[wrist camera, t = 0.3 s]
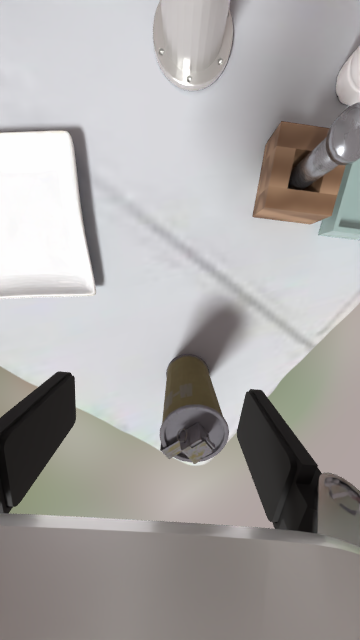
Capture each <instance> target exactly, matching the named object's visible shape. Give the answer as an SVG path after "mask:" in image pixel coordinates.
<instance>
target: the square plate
mask: <svg viewBox="0 0 360 640" xmlns="http://www.w3.org/2000/svg"><path fill="white" fill-rule="evenodd" d="M95 294H96V287H95V281H94V275H93V271H92V266H91V261H90V256H89V251H88V246H87V240H86V235H85V229H84V224H83V217H82V210H81V203H80V195H79V186H78V177H77V168H76V159H75V152H74V145H73V140H72V138H71V135H70V134H69V132H67V131H30V132H3V133H0V299H14V298H37V297H84V296H94V295H95Z"/></svg>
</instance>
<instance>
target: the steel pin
mask: <svg viewBox="0 0 360 640" xmlns="http://www.w3.org/2000/svg"><path fill="white" fill-rule="evenodd" d="M358 159H360V102H359V103H355V104H353V105H351V106H350V107H348V108H347V109H346V110H345V111H344V112H343V113H342V114H341V115H340V116H339V117H338V118H337V119H336V120H335V121H334V122H333V124H332V125H331V127H330V129H329V131H328V134H327V137H326V138H325V139H324V140H323V141H322V142H321V143H320V144H319V145H318V146H317V147H315V148H314V149H313V150H312V151H311V152H310V153H309V154H308V155H307V156H306V157H305V158H304V159H303V160H302V161H300V162H299V163H298V164H297V165H296V166H295V167H294V168H293V169H292V170H291V174H290V178H289V183H288V188H287V189H294V190H303V189H305V188H306V187H308V186H309V185H311V184H312V183H314V182H315V181H316V180H318V179H319V178H321V177H322V176H324V175H325V174H327V173H328V172H330V171H331V170H332V169H334V168H335V167H337V166H338V165H349V164H352V163H354V162H355V161H357V160H358Z"/></svg>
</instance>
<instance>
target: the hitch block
mask: <svg viewBox="0 0 360 640" xmlns="http://www.w3.org/2000/svg"><path fill="white" fill-rule="evenodd" d="M329 129H330V128H324V127H317V126H311V125H304V124H297V123H291V122H284V121H281V123H280V124H279V126H278V127H277V129H276V130H275V132H274V133H273V135H272V136H271V137H270V139H269V140H268V142H267V143H266V146H265V151H264V157H263V162H262V168H261V173H260V179H259V184H258V189H257V195H256V200H255V206H254V211H253V217H256V218H264V219H272V220H280V221H288V222H296V223H304V224H312V223H315V222H317V221H320V220H323V219H325V218H328V217H330V216H332V213H333V209H334V205H335V202H336V198H337V195H338V191H339V188H340V184H341V180H342V177H343V173H344V170H345V166H346V165H338V166H337V167H335V168H334V169H332V170H331V171H330V172H328V173H327V174H325V175H324V176H322V177H321V178H319V179H318V180H316V181H315V182H314V183H312V184H311V185H309V186H308V187H306V188H305V189H303V190H294V189H287V188H288V183H289V178H290V174H291V170H292V169H293V168H294V167H295V166H296V165H297V164H298V163H299V162H300V161H302V160H303V159H304V158H305V157H306V156H307V155H308V154H309V153H310V152H311V151H312V150H313V149H314V148H315V147H317V146H318V145H319V144H320V143H321V142H322V141H323V140H324V139H325V138H326V137H327V134H328V131H329Z"/></svg>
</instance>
